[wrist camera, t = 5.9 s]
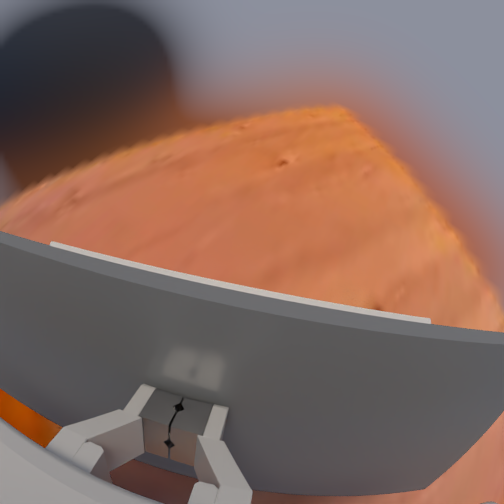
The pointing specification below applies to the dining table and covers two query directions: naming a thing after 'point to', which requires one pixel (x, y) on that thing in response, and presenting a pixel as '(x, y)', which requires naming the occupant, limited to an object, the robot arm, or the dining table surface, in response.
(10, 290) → the plate
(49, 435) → the dining table surface
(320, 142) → the dining table surface
